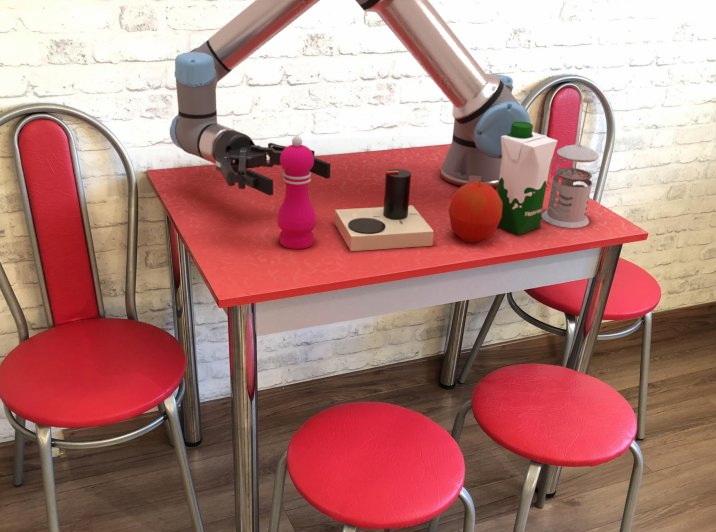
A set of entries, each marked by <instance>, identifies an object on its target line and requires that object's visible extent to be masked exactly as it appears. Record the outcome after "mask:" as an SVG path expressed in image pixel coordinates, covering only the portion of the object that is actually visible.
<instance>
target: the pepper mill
mask: <svg viewBox="0 0 716 532" xmlns="http://www.w3.org/2000/svg"><path fill="white" fill-rule="evenodd" d="M286 146H287V147H286V148H285V149H284V150H283V151H282V153H281V156H280V164H281V165H280V166H281V168H282V169H283V170H284V171H282V176H283V177H282V181H283V182H284V183H285V195H284V198H283V201H282V203H281V205H280V207H279V209H278V213H277V218H276V224H277V227H278V228H279V229H280V230H281V231H280V232H279V243H280V245H281V246H283V248H287V249H292V250H302V249H307V248H310V247H311V246H312V245H313V244H314V233H313V230H314V229H315V228H316V226H317V214H316V211H315V209H314V206H313V204H312V202H311V199H310V194H309V183H310V182H311V181H312V178H311V175H312V172H309V171H310V169H311V168H312V167H313V164H314V158H315V155H314V156H313V153H312V152H311V150H312V149H310V148H309V147H308V146H306V145H304V144H303V139H302V138H301V136H294V137H293V138H292V139H291V144H290V145H286Z"/></svg>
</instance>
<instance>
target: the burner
mask: <svg viewBox="0 0 716 532" xmlns="http://www.w3.org/2000/svg"><path fill="white" fill-rule="evenodd" d="M348 227H349V229H351V230H352V231H354V232H357V233H362V234H376V233H380V232H382V231H384V230H385V224H384V223H383V222H382V221H380V220H377V219H372V218H357V219H354V220H351V221H350V222H349V223H348Z"/></svg>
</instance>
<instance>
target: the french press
mask: <svg viewBox="0 0 716 532" xmlns="http://www.w3.org/2000/svg"><path fill="white" fill-rule="evenodd" d="M582 103H585V104H586V107H585V112H584V116H583V117H584V118H583V122H582V127H581V132H580V138H579V142H578V144H569V145H565V146H563V147H560V148H558V149H557V151H556V153H557V155H555V156H554V157H553V158H552V160H551V163H550V168H549V173H548V177H549V182H550V185H551V189H550V194H549V199H548V204H547V209H546V210H545V211H543V212H542V215H541V219H542V220H543V221H544V222H546V223H548V224H550V225H553V226H557V227H560V228H568V229H577V228H578V229H579V228H583V227H587V225H588V224H589V223H590V221H589V218H588V217H587V215H586V214H587V209H588V206H589V201H590V195H591V191H592V186H593V182H592V180H591V179H592V178H593V174H592V173H591V172H589V171H588V170H585V169H582V168H578V167H577V163H593V162H596V161H597V160H598V159H599V157H600V156H599V154H598V153H597V152H596V151H595V150H594V149H593V148H591V147H588V146H587V145H581V144H582V138H583V134H584V133H583V132H584V129H585V128H584V127H585V123H586V117H587V113H588V112H587V111H588V109H589V108H588V107H589V104H593V103H594V97H593V96H591V95H586V96H584V97H583V99H582ZM557 157H560V158H559V159H558V161H557V164H556V168H555V176H552V177H551V175H552V174H551V173H552V172H551V171H552V165H553V163H554V161H555V159H556V158H557ZM562 159H564V160H562ZM567 161H571V162H573V163H574V162H575V163H574V167H572V166H571V167H567V166H565V167H559V163H560V162H562V163H564V162H567ZM560 178H561V183H560ZM578 182H579V183H584V184H585V185H587V186H585V185H584V184H578ZM574 183H577V184H574ZM556 198H557V199H556ZM555 204H556V205H555Z"/></svg>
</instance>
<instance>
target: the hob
mask: <svg viewBox="0 0 716 532" xmlns="http://www.w3.org/2000/svg"><path fill="white" fill-rule="evenodd" d="M383 208H384V206H377V207H362V208H361V207H360V208H359V207H358V208H342V209H334V225H335V227H336V229H337V230H338V232H339V234H340V236H341V238H342V239H343V240H344V243H345V244H346V246H347V248H348V249H349V251H350V252H362V251H377V250H389V249H391V250H392V249H404V248H417V247H432V246H433V243H434V235H435V231H434V229H433V228H432V227H431V225H429V223H428V222H427V221H426V220H425V219H424V217H423V216H422V215H421V214H420V212H419V211H418V210H417V208H416V207H414V205H411V204H410V205H409V207H408V216H407V218H405V219H401V220H393V219H389V218H386V217H385V216H384V215H383ZM357 218H372V219H377V220H380V221H382V222H383V223H384V224H385V230H384V231H382V232H380V233H376V234H362V233H357V232H354V231H352V230H351V229H349V227H348V223H349V222H350V221H351V220H354V219H357Z"/></svg>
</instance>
